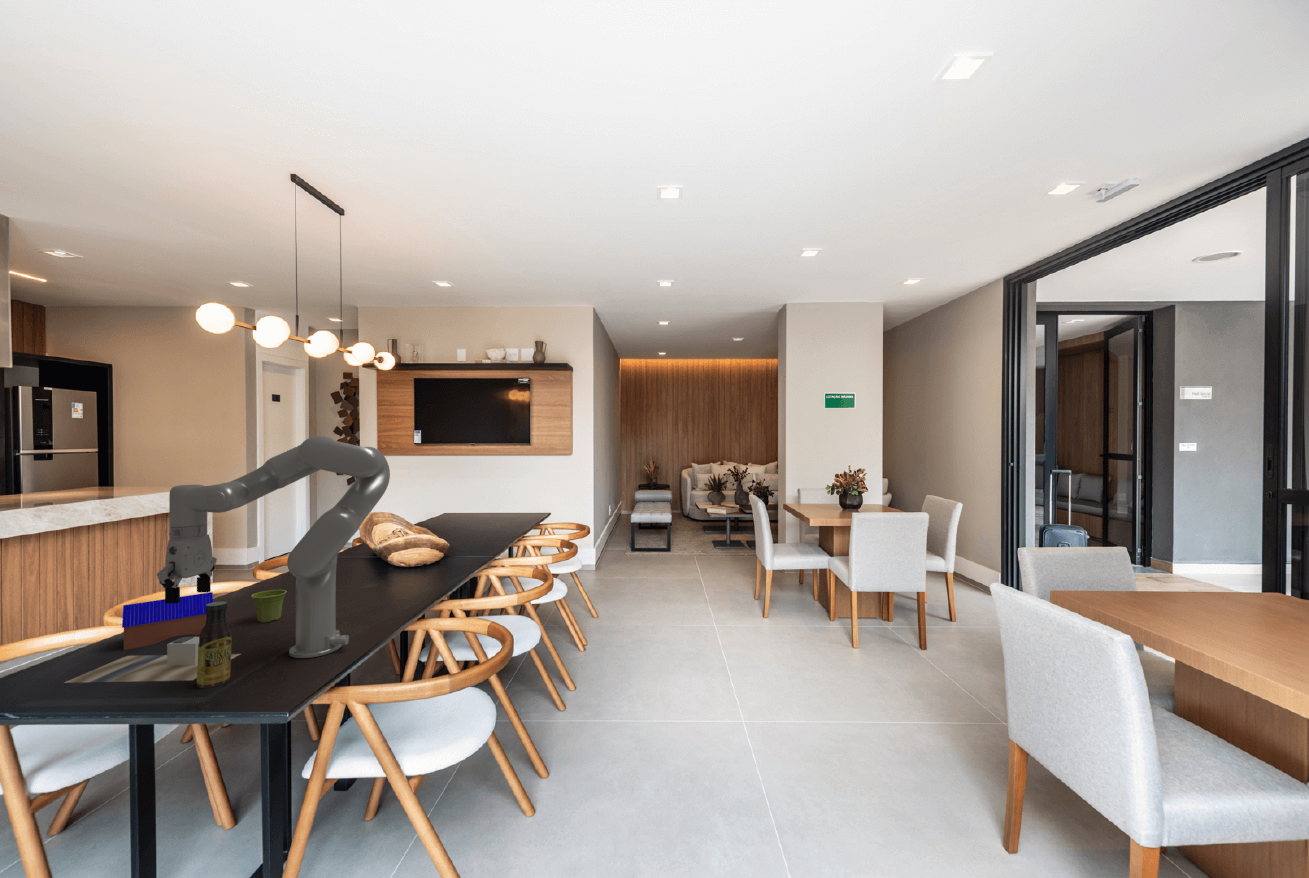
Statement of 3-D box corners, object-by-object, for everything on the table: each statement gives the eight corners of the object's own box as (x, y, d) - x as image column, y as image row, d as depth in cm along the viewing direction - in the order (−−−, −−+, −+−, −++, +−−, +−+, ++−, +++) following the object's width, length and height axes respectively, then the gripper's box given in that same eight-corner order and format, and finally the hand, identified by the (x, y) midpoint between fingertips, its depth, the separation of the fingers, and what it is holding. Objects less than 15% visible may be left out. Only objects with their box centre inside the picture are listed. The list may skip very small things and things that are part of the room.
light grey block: (210, 657, 143) (210, 635, 143) (195, 665, 138) (195, 642, 138) (183, 657, 143) (183, 635, 143) (167, 665, 138) (167, 643, 138)
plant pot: (258, 616, 180) (258, 590, 180) (290, 613, 183) (290, 588, 183) (246, 625, 171) (246, 598, 171) (280, 622, 174) (280, 595, 174)
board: (241, 658, 145) (241, 653, 145) (192, 685, 129) (192, 680, 129) (127, 660, 144) (127, 655, 144) (63, 687, 128) (63, 682, 128)
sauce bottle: (203, 695, 124) (203, 609, 124) (191, 689, 127) (191, 605, 127) (236, 684, 130) (236, 602, 130) (224, 678, 133) (224, 598, 133)
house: (124, 639, 160) (124, 600, 160) (211, 624, 173) (211, 588, 173) (122, 651, 151) (121, 610, 151) (213, 634, 165) (213, 596, 165)
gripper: (174, 538, 132) (174, 607, 132) (228, 526, 149) (228, 588, 149) (143, 538, 132) (143, 607, 132) (200, 526, 149) (200, 588, 149)
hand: (188, 597), depth 141 cm, fingers open, 9 cm apart
